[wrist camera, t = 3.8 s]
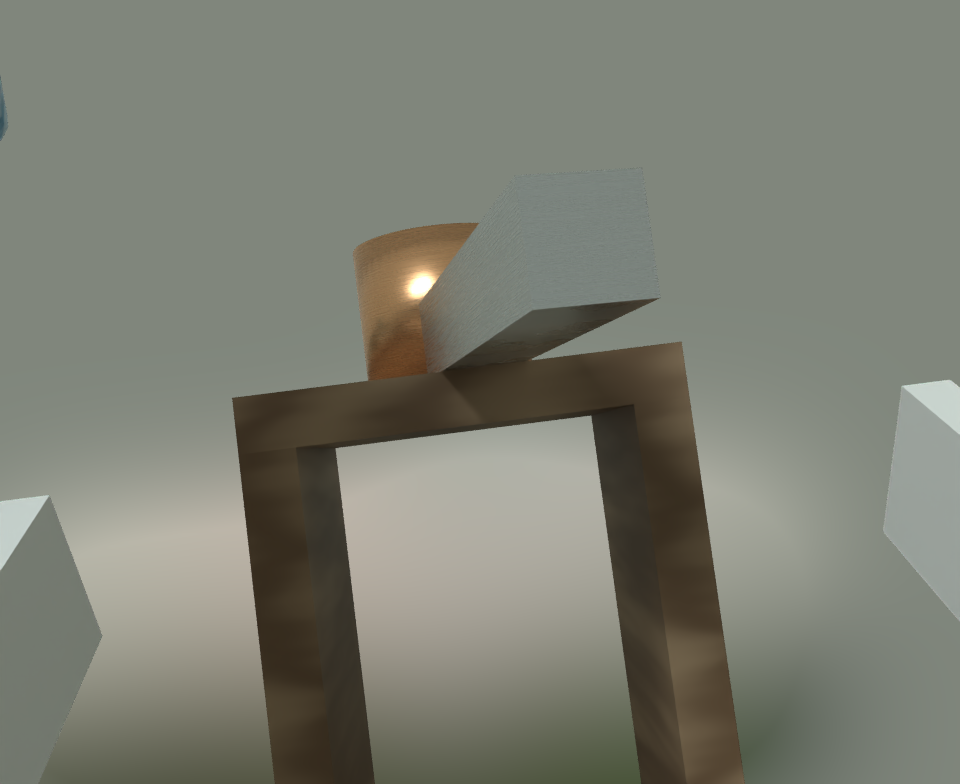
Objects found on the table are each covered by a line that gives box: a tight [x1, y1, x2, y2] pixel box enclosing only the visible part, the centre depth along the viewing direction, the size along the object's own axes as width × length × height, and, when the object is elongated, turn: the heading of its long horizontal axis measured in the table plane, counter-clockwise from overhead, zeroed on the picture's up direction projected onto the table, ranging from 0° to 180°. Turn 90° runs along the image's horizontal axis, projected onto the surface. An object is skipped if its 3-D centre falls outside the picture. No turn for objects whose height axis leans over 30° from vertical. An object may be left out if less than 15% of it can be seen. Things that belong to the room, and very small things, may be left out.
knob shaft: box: [353, 168, 660, 381], centre depth 30 cm, size 7×22×6 cm, turn 12°
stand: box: [232, 342, 745, 784], centre depth 35 cm, size 16×10×30 cm, turn 92°
